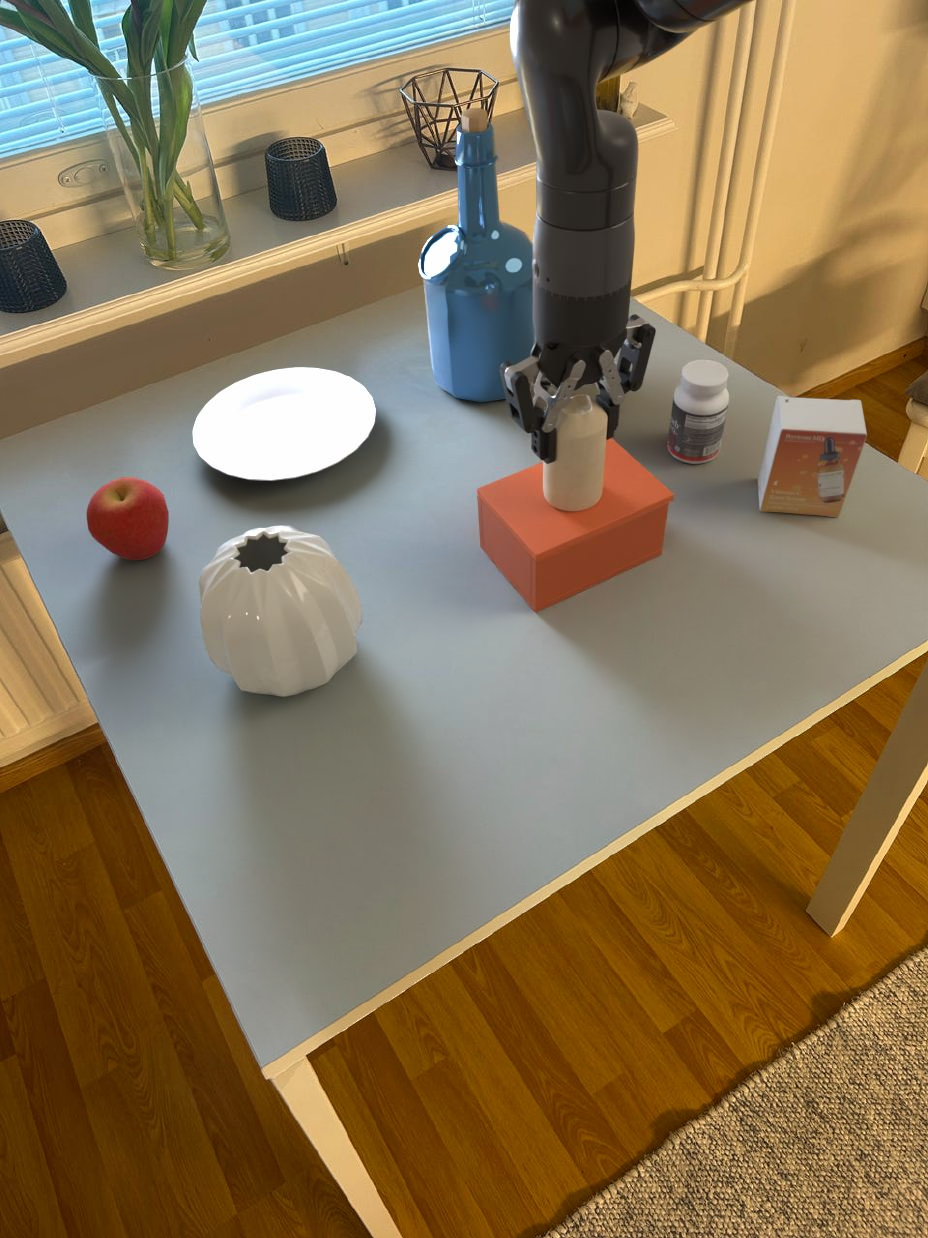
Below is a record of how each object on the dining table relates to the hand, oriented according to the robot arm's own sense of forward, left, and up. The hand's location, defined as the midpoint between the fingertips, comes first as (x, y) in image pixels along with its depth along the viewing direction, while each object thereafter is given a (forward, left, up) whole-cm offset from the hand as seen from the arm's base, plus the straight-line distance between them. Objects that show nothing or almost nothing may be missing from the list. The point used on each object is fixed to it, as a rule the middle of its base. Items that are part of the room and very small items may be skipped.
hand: (575, 445), depth 83 cm
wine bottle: (-8, -31, -13) cm, 35 cm away
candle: (0, 0, -6) cm, 6 cm away
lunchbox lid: (0, 0, -6) cm, 6 cm away
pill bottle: (-20, -6, -13) cm, 25 cm away
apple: (+37, -24, -13) cm, 46 cm away
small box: (-24, +6, -13) cm, 28 cm away
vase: (+29, -2, -13) cm, 32 cm away
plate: (+17, -33, -13) cm, 40 cm away
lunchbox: (0, 0, -13) cm, 13 cm away
